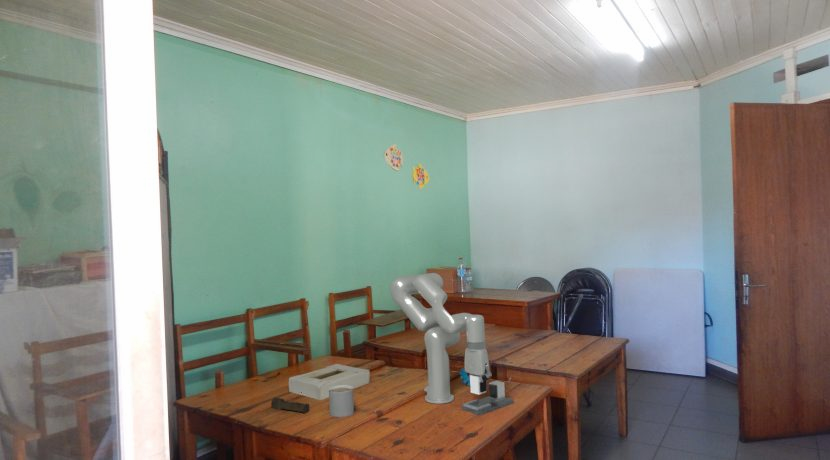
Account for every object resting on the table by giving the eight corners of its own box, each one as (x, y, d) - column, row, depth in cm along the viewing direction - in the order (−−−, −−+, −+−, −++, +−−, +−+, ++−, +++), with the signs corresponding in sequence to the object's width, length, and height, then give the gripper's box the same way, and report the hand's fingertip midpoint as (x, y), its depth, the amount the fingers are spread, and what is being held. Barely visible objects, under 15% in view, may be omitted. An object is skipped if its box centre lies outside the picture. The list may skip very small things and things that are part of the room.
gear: (467, 385, 241) (457, 367, 247) (460, 392, 244) (451, 374, 250) (483, 383, 248) (474, 366, 254) (476, 390, 250) (467, 373, 257)
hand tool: (310, 412, 217) (310, 400, 217) (304, 415, 214) (303, 403, 214) (276, 406, 226) (275, 395, 226) (269, 409, 223) (269, 398, 223)
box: (321, 402, 231) (370, 383, 256) (320, 384, 231) (369, 367, 256) (288, 394, 245) (337, 377, 271) (287, 377, 245) (337, 362, 271)
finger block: (470, 392, 212) (469, 375, 212) (479, 389, 216) (478, 372, 216) (478, 394, 209) (478, 377, 209) (487, 391, 212) (486, 374, 212)
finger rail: (461, 409, 213) (460, 388, 213) (495, 397, 227) (494, 378, 227) (479, 415, 206) (478, 394, 206) (513, 402, 219) (512, 382, 219)
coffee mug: (343, 418, 207) (342, 393, 207) (324, 414, 213) (323, 390, 213) (364, 408, 218) (363, 384, 219) (345, 405, 224) (345, 381, 224)
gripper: (455, 344, 216) (457, 388, 216) (485, 349, 204) (487, 396, 203) (467, 341, 221) (469, 384, 221) (498, 346, 208) (500, 392, 208)
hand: (478, 389), depth 212 cm, fingers closed on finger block, 4 cm apart
